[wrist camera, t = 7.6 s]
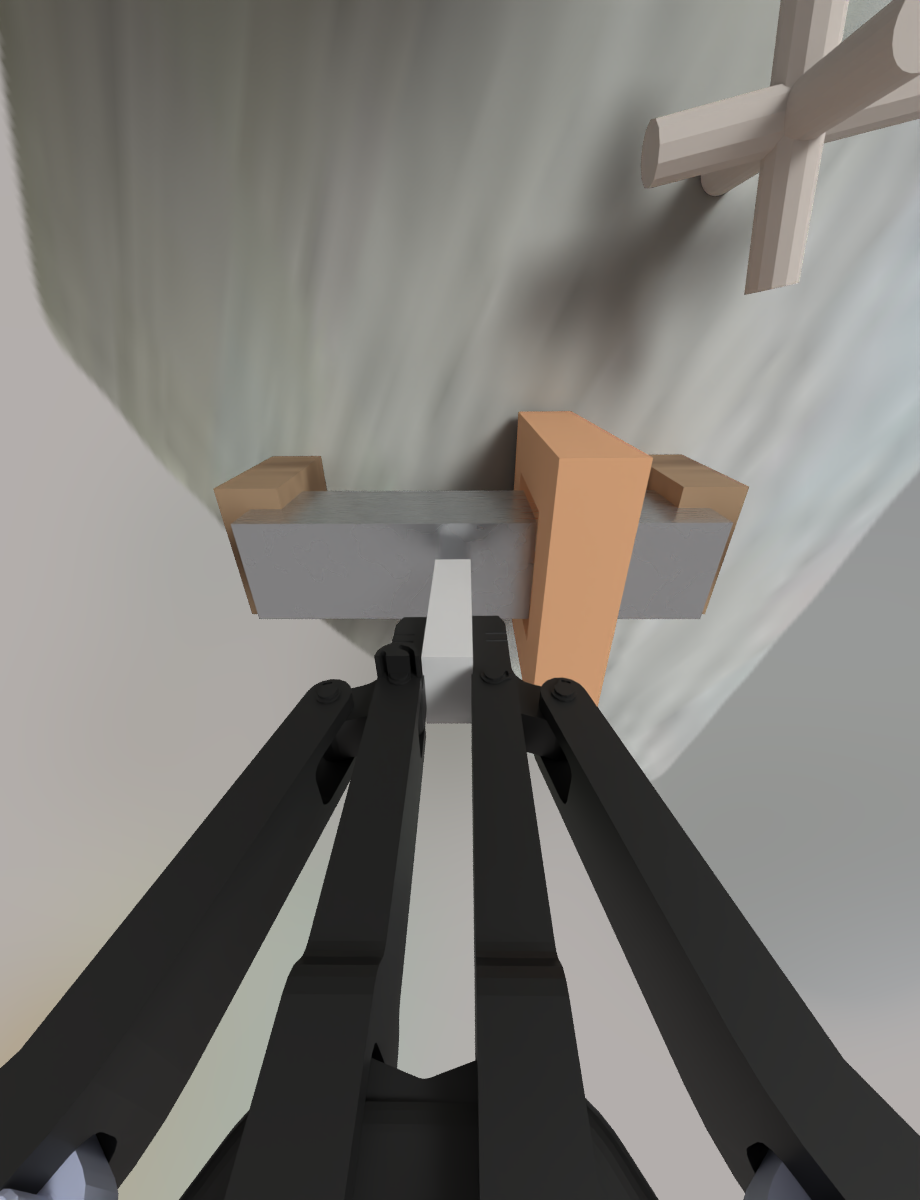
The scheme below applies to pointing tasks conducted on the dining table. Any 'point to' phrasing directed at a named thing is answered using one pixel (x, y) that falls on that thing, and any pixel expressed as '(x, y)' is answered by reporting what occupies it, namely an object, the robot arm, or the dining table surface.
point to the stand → (294, 474)
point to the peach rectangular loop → (576, 543)
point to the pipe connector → (793, 122)
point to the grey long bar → (453, 554)
